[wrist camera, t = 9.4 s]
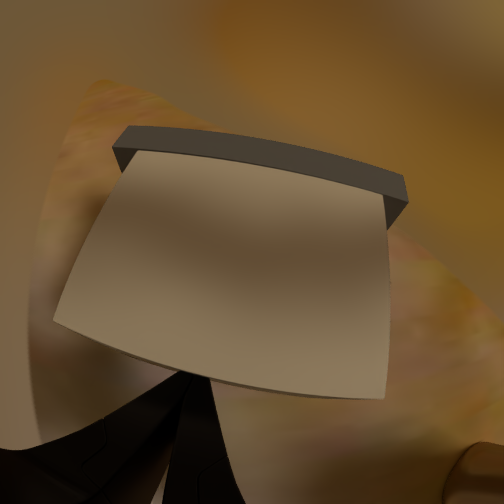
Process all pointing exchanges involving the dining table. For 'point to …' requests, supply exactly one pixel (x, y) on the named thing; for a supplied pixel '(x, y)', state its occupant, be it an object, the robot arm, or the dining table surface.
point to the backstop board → (266, 159)
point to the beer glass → (477, 476)
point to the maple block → (238, 277)
